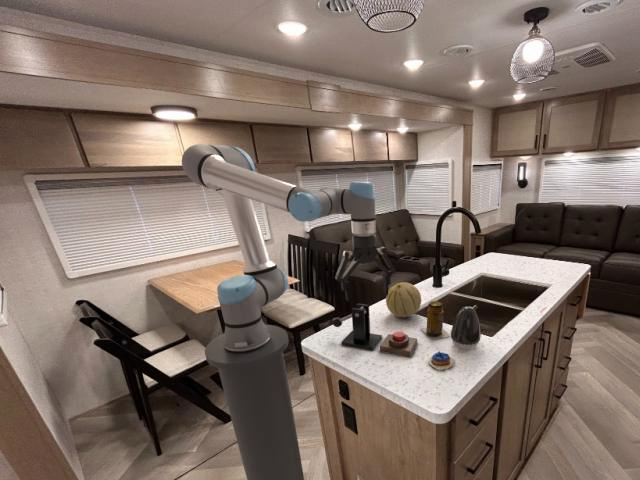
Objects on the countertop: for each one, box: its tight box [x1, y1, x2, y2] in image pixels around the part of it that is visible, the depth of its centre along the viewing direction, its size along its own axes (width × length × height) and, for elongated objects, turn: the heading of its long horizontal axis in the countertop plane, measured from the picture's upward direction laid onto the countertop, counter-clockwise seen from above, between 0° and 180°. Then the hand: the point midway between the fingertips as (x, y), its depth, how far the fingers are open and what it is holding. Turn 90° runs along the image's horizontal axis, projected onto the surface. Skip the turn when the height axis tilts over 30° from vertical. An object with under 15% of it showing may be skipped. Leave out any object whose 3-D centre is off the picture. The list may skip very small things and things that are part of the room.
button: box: [392, 330, 406, 341], centre depth 111 cm, size 4×4×2 cm
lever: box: [332, 306, 366, 328], centre depth 114 cm, size 14×4×4 cm, turn 71°
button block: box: [379, 333, 418, 357], centre depth 112 cm, size 11×9×4 cm
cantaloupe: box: [385, 281, 422, 318], centre depth 133 cm, size 15×15×15 cm
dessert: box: [428, 350, 454, 371], centre depth 103 cm, size 8×7×6 cm
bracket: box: [340, 303, 383, 351], centre depth 114 cm, size 12×9×14 cm
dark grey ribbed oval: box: [450, 304, 482, 351], centre depth 110 cm, size 10×10×15 cm
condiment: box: [421, 300, 449, 340], centre depth 120 cm, size 7×8×12 cm
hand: (367, 296), depth 109 cm, fingers open, 13 cm apart
